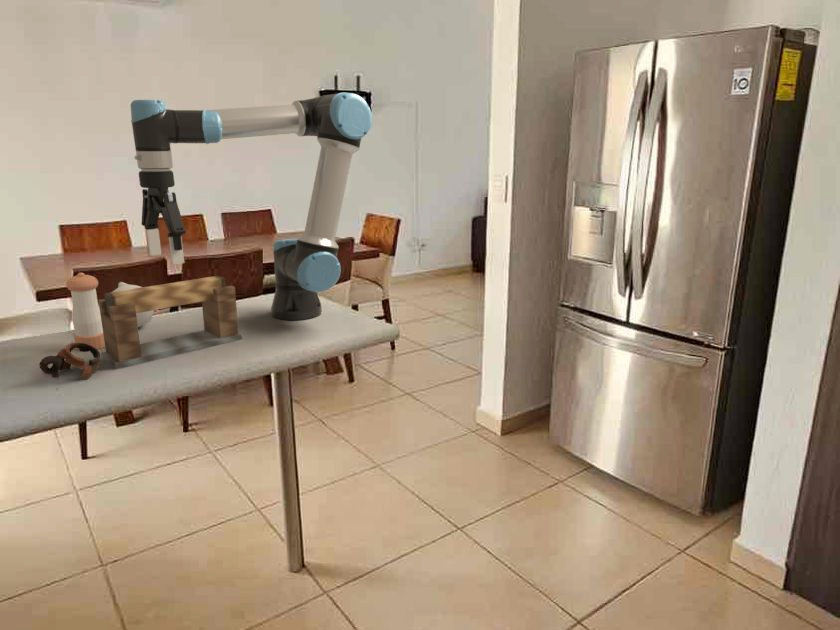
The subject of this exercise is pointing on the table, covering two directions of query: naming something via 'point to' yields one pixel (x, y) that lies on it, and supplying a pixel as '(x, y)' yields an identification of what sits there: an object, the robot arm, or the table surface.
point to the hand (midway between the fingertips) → (166, 259)
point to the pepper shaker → (86, 310)
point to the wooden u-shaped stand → (129, 351)
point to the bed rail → (166, 294)
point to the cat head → (141, 317)
